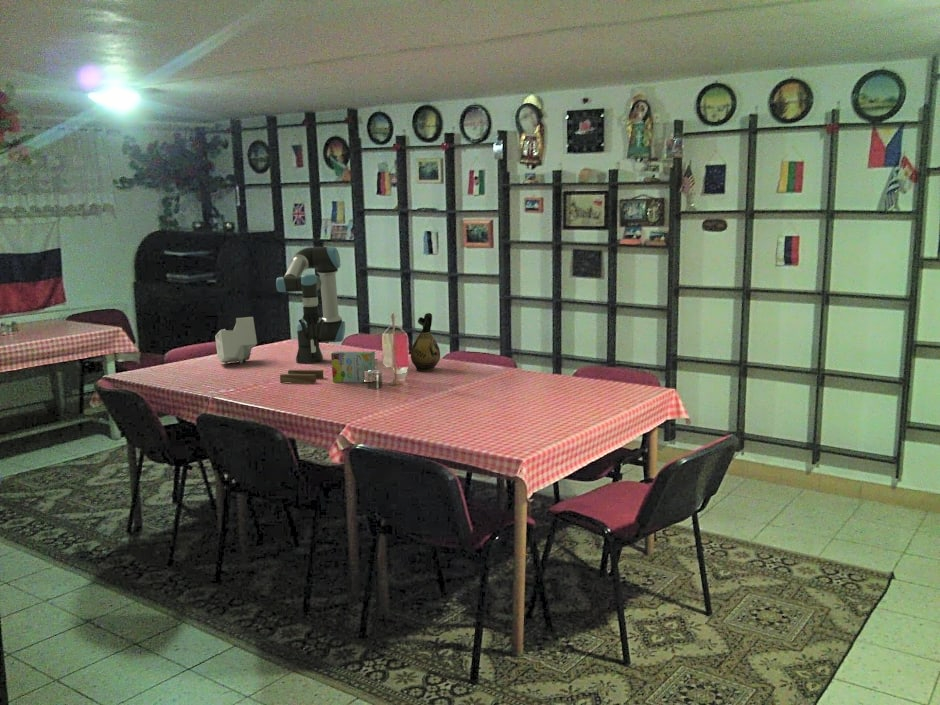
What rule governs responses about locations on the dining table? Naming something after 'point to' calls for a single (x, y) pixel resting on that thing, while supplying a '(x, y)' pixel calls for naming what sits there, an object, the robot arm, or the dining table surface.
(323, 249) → the robot arm
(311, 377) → the walnut chute
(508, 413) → the dining table surface
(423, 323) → the ceramic jug
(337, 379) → the snack box
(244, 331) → the grey stepped block
